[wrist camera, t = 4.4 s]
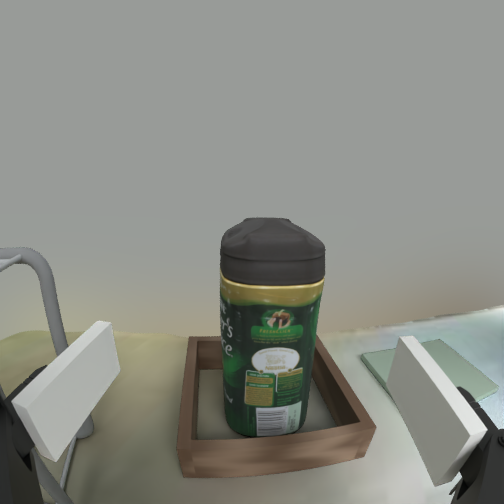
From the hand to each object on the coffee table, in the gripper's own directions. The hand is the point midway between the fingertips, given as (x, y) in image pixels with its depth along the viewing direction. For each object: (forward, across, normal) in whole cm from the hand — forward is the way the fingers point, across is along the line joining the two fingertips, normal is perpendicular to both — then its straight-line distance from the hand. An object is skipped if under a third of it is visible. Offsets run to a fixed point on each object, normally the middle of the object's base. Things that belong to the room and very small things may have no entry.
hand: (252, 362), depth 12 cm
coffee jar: (+12, +1, -14) cm, 18 cm away
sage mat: (+16, +22, -14) cm, 30 cm away
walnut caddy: (+12, +1, -14) cm, 18 cm away
